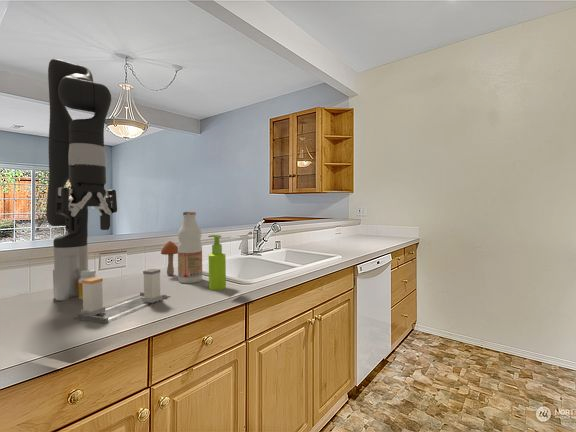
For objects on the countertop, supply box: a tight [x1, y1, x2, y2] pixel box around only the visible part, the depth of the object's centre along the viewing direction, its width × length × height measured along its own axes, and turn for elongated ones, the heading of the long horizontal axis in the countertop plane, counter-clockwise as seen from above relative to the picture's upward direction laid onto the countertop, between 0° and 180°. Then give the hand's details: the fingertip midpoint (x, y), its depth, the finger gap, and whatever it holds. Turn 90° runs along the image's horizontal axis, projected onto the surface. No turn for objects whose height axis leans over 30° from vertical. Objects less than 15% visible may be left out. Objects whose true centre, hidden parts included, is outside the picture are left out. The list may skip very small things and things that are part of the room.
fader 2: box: [142, 268, 162, 303], centre depth 93 cm, size 4×4×9 cm
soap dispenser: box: [207, 234, 227, 291], centre depth 109 cm, size 6×7×20 cm
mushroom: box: [160, 240, 178, 276], centre depth 134 cm, size 8×8×15 cm
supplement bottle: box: [78, 269, 99, 301], centre depth 98 cm, size 5×5×10 cm
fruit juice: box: [177, 211, 203, 284], centre depth 123 cm, size 9×9×28 cm
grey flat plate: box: [73, 291, 172, 325], centre depth 89 cm, size 11×24×2 cm, turn 161°
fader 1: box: [80, 277, 106, 315], centre depth 83 cm, size 4×4×9 cm
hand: (89, 231), depth 74 cm, fingers open, 8 cm apart
